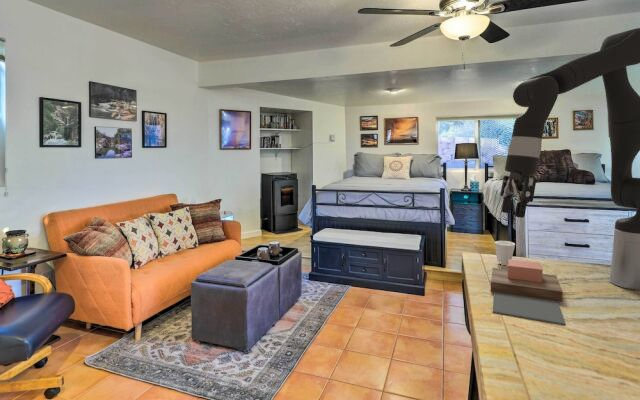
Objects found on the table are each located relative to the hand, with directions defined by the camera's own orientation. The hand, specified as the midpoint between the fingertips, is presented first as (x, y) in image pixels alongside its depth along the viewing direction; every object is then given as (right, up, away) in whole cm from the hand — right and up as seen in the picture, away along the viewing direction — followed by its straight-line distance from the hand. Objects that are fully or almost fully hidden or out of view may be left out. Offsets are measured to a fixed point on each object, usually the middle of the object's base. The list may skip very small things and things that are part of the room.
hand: (511, 214), depth 96 cm
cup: (+18, -20, +37) cm, 45 cm away
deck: (+11, -23, +13) cm, 29 cm away
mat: (+4, -25, 0) cm, 26 cm away
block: (+12, -20, +15) cm, 27 cm away
